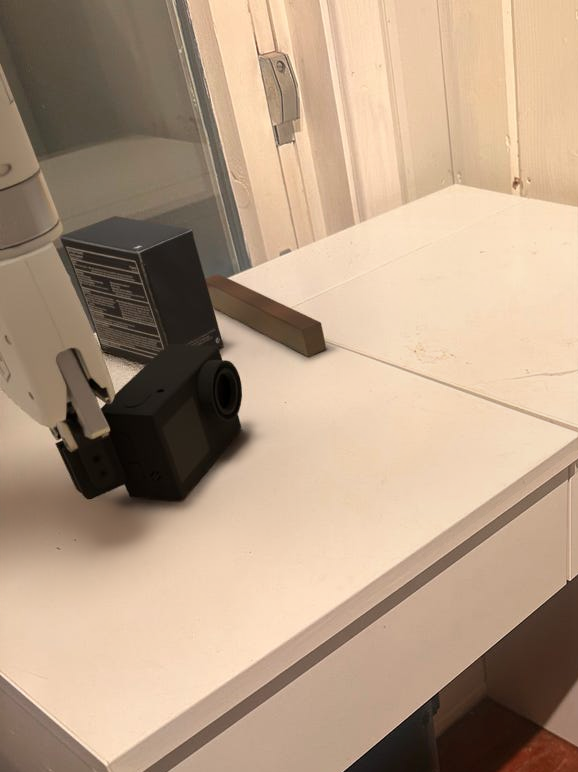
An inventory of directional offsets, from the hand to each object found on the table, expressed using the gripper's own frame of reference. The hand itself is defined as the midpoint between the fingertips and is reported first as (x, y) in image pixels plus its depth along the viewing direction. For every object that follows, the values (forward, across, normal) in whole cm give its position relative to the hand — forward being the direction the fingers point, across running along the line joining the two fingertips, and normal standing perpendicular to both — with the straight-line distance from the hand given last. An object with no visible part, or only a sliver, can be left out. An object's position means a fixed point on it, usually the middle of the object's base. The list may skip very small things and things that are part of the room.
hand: (103, 487), depth 64 cm
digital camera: (+2, -1, +7) cm, 7 cm away
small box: (+2, -21, +15) cm, 26 cm away
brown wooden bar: (+2, -18, +24) cm, 30 cm away
